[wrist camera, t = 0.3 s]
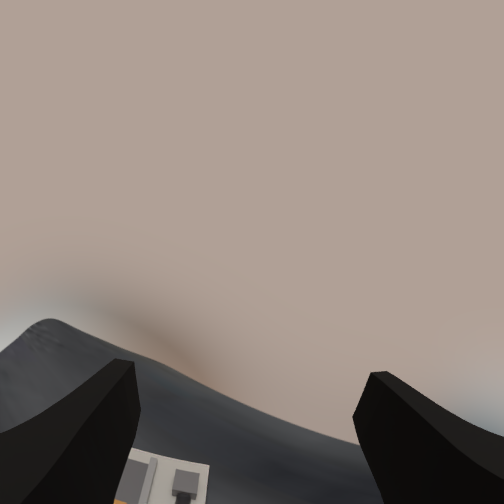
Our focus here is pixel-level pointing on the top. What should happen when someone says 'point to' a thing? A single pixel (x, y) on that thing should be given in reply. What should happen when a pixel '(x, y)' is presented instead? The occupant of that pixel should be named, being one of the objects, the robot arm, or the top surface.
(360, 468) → the top surface
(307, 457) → the top surface
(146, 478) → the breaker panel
